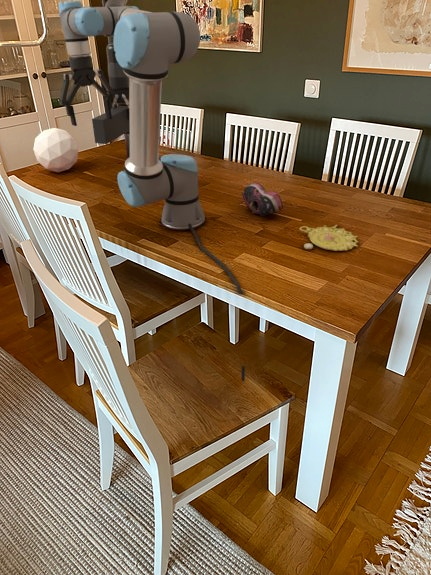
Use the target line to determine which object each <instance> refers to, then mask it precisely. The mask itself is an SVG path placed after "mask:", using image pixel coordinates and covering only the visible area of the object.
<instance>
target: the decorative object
mask: <svg viewBox="0 0 431 575" xmlns="http://www.w3.org/2000/svg"><path fill="white" fill-rule="evenodd" d="M303 228H304V229H305V230H304V229H303ZM299 231H300V232H303V233H305V234H307V237H308V238H309V240H310V241H311V243H304V244H303V248H304V249H305V250H313V249H314V245H315V246H316V247H318V248H321V249H324V250H328V251H335V252H341V251H348V250H352V249H354V247H356V248H358V247H359V245H358V244H357V243H359V240H357V238H359V237H358V235H353V234H352V231H347V230H346V229H345V228H344V227H342V228H338V224H335V225H333V226H331V227H328V226H327V225H326V224H325V225H323V226H322V227H321V226H317V227H316V228H314V227H309V226H308V225H302V226H300V227H299ZM313 244H314V245H313Z"/></svg>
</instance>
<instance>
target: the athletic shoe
mask: <svg viewBox="0 0 431 575" xmlns="http://www.w3.org/2000/svg"><path fill="white" fill-rule="evenodd" d="M241 197H242V199H243V201H238V203H239V204H241V205H245V206H246V207H247V208H248V210H249V211H250V210H251V213H252V214H255V215H260V217H266V216H267V215H270V214H274V213H275V212H279V211H282V210H283V209H284V205H283V201H282V198H281V196H280V195H279V194H278V192H277V191H274V190H269V191H267V190H266V189H265V187H264V186H263V185H262V184H261V183H258V182H251V183H249V184H247V186H246V187H245V188H244V190H243V191H242V192H241Z"/></svg>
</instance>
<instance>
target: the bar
mask: <svg viewBox="0 0 431 575" xmlns="http://www.w3.org/2000/svg"><path fill="white" fill-rule="evenodd" d="M111 115H112V119H108V118H107V116H106V112H104V113H102V114H99V115H97V116H96V117H93V118H91V122H92V128H93V129H92V130H93V136H94V143H95V144H99V145H108V144H109V143H112V142H113V141H114V140H116V139H118V138H120V137H121V136H124V134H125V133H127V132H129V131H130V114H129V108H128V107H127V106H119V107H115V109H113V110H111Z"/></svg>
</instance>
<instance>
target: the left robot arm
mask: <svg viewBox="0 0 431 575" xmlns="http://www.w3.org/2000/svg"><path fill="white" fill-rule="evenodd" d="M101 3H102V7H121V6H127V3H128V0H101ZM103 36H104V37H107V40H108V44H107V45H106V57H107V75H108V81H109V82H108V83H109V85H110V86H111V88H112V90H113V91H114V93H115V97H112V109H111V110H113V109H115V108H117V107H119V106H127V107H128V108H129V77H128V76H127V75H126V74H125V73H124V71H123V67H121V66H120V65H119V63H118V61H117V59H116V56H115V54H116V52H115V51H114V34H110V35H103ZM107 93H108V92H107ZM108 94H109V93H108ZM102 97H103V100H104V99H106V98H105V97H104V96H103V95H102ZM116 106H117V107H116ZM129 114H130V112H129ZM123 136H124V143H125V151H126V155H125V156H126V160H127V159H128V158H129V157H130V131H129V132H127V133H125V134H123Z"/></svg>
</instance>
